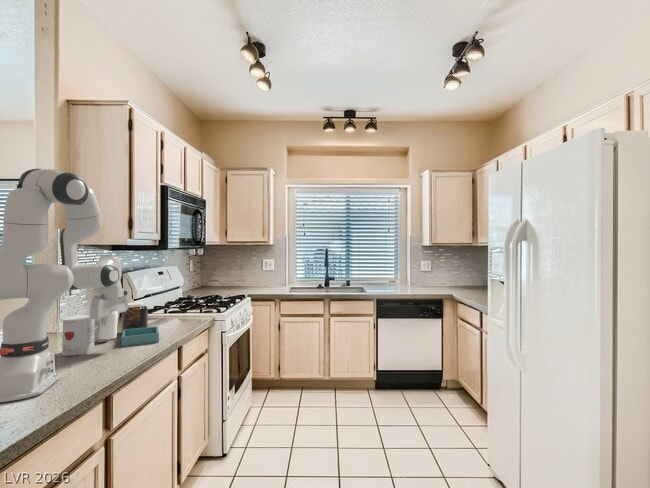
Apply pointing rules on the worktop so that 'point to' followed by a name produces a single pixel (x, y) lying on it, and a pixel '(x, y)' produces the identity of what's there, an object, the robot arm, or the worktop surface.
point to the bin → (140, 336)
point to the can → (109, 327)
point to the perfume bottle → (97, 331)
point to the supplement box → (78, 335)
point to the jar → (135, 316)
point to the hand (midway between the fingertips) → (109, 325)
